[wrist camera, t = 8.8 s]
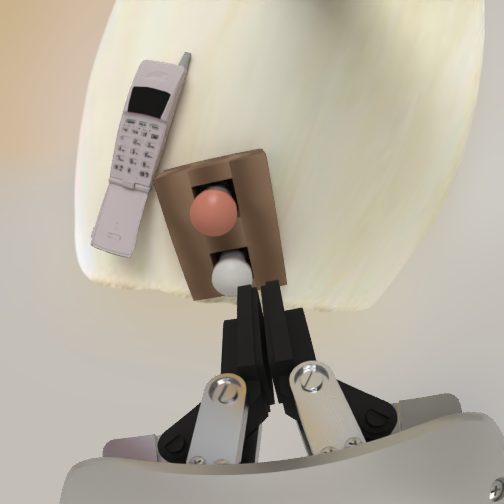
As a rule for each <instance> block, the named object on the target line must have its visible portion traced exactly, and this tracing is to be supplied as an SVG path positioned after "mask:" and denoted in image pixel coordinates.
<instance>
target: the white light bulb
mask: <svg viewBox="0 0 504 504" xmlns="http://www.w3.org/2000/svg"><path fill="white" fill-rule="evenodd" d="M212 284H213V286H214V288H215V289H216V290H217V291H218V292H219V293H221V294H223V295H226V296H237V287H238V286H243V285H249V284H251V285H252V271H251V268H250V266H249V265H248V263H247V262H246V255H245V247H242V248H237V249H231V250H226V251H221V252H220V259H219V262H218V263H217V264H216V265H215V266H214V269H213V273H212Z"/></svg>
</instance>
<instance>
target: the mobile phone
mask: <svg viewBox="0 0 504 504" xmlns="http://www.w3.org/2000/svg"><path fill="white" fill-rule="evenodd" d="M190 57H191V53H188V52H185V53H184V55H183V57H182V59H181V61H180V63H179V65H174V64H169V63H164V62H158V61H153V60H144V61H143V62H142V63H141V64H140V66H139V68H138V70H137V73H136V75H135V78H134V80H133V83H132V86H131V88H130V91H129V94H128V97H127V100H126V103H125V106H124V110H123V114H122V118H121V122H120V126H119V130H118V134H117V139H116V144H115V149H114V154H113V160H112V166H111V172H110V178H109V182H110V183H109V185H108V188H107V191H106V194H105V197H104V200H103V203H102V206H101V209H100V212H99V215H98V218H97V222H96V225H95V227H94V228H93V231H92V235H91V238H92V240H91V246H93V247H95V248H97V249H100V250H103V251H105V252H108V253H111V254H114V255H119V256H123V257H127V258H130V257H131V254H132V251H133V250H134V247H135V244H136V236H137V232H138V228H139V225H140V221H141V217H142V214H143V210H144V207H145V203H146V200H147V197H148V193H149V191H150V190H151V189H152V185H153V180H154V178H155V174H156V172H157V168H158V165H159V162H160V158H161V155H162V152H163V148H164V145H165V142H166V138H167V135H168V132H169V129H170V126H171V122H172V119H173V116H174V112H175V109H176V106H177V102H178V99H179V96H180V93H181V90H182V87H183V83H184V80H185V77H186V74H187V67H188V64H189V60H190ZM166 125H167V126H166ZM164 132H165V133H164Z"/></svg>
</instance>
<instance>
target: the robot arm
mask: <svg viewBox="0 0 504 504" xmlns="http://www.w3.org/2000/svg"><path fill="white" fill-rule="evenodd" d="M265 284H266V285H264V286H261V295H262V305H263V312H262V308H261V303H260V299H259V295H258V290H257V287H253V288H252V286H251V284H249V285H243V286H238V287H237V319H231V320H225V321H224V324H223V341H222V362H221V374H220V375H218V376H215V377H214V378H212V379H211V380H210V381H209V382H208V383H207V385H206V387H205V389H204V393H203V398H202V402H201V403H199V405H197V406H196V407H195V408H194V409H192V410H191V411H190V412H189V413H188V414H186V415H185V416H184V417H183V418H181V419H180V420H179V421H178V422H176V423H175V424H174V425H173V426H172V427H170V428H169V429H168V430H166V431H165V432H164V433H163V434H162V435H159V436H156V435H155V434H153V435H146V436H139V437H131V438H123V439H114V440H111V441H109V442H108V443H107V444H106V445H105V447H104V449H103V457H100V458H92V459H88V460H85V461H82V462H79V463H77V464H76V465H74V466H73V467H72V468H71V469H70V471H69V473H68V474H67V477H66V480H65V482H64V486H63V489H62V493H61V498H60V504H504V436H503V434H502V432H501V430H500V429H499V427H498V426H497V424H496V423H495V422H494V420H493V419H492V418H491V417H489V416H488V415H486V414H483V413H477V412H465V413H464V412H463V413H462V410H461V405H460V403H459V400H458V399H457V398H456V397H455V396H454V395H452V394H448V393H447V394H446V393H445V394H439V395H433V396H428V397H422V398H416V399H409V400H402V401H399V403H393V404H390V403H388V402H386V401H384V400H381V399H379V398H377V397H374V396H372V395H370V394H367V393H365V392H363V391H361V390H358V389H356V388H354V387H352V386H350V385H347V384H345V383H343V382H341V381H339V380H337V379H336V378H335V375H334V373H333V371H332V370H331V368H330V367H329V366H327V365H326V364H325V363H322V362H319V361H316V358H315V354H314V350H313V346H312V342H311V338H310V334H309V330H308V326H307V323H306V318H305V315H304V311H303V308H297V309H292V310H286V311H284V306H283V301H282V296H281V291H280V285H279V280H272V281H266V282H265ZM263 315H264V317H263ZM272 379H273V382H274V386H275V390H276V394H277V398H278V402H279V403H283V406H284V410H285V413H286V414H287V415H288V416H290V417H292V418H293V419H295V420H296V423H297V426H298V429H299V432H300V435H301V438H302V441H303V444H304V447H305V449H306V452H307V455H308V456H307V457H301V458H294V459H288V460H280V461H271V462H262V463H258V457H259V449H260V440H261V431H262V422H263V421H264V420H265V419H266V418H267V417H268V412H270V405H272V404H275V400H274V391H273V382H272Z"/></svg>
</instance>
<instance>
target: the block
mask: <svg viewBox="0 0 504 504" xmlns="http://www.w3.org/2000/svg"><path fill="white" fill-rule="evenodd" d="M230 178H232V179H233V184H234V188H235V193H236V197H237V202H238V203H237V204H236V206H237V219H236V222H235V224H234V226H233V228H232V229H231V230H230V231H229V232H227V233H225V234H223V235H221V236H207V235H204V234H202V233H200V232H199V231H198V230H196V228H195V227H194V226H193V224H192V222H191V220H190V208H191V205H192V203H193V201H194V199H195V198H196V197H197V195H198V194H200V193H201V188H200V185H203V184H207V183H212V182H216V181H221V180H226V179H230ZM153 182H154V185H155V188H156V192H157V195H158V198H159V202H160V205H161V208H162V211H163V215H164V218H165V221H166V224H167V227H168V230H169V233H170V236H171V239H172V242H173V245H174V248H175V251H176V254H177V256H178V259H179V262H180V265H181V268H182V270H183V273H184V276H185V279H186V281H187V284H188V287H189V289H190V292H191V295H192V297H193V300H194V301H195V300H202V299H208V298H214V297H220V296H226V295H223V294H221V293H219V292H218V291H217V290H216V289H215V288H214V286H213V284H212V273H213V269H214V266H215V265H216V264H217V263H218V262H219V255H218V252H221V251H226V250H231V249H237V248H242V247H248V252H249V257H250V259H246V262H247V263H248V265H249V266H250V268H251V271H252V285H251V286H252V288H253V287H257V290H260V289H261V286H264V285H266V284H265V282H266V281H272V280H279V285H280V286H282V285H287V280H286V273H285V267H284V260H283V253H282V247H281V240H280V234H279V228H278V221H277V215H276V209H275V203H274V197H273V191H272V186H271V180H270V174H269V169H268V163H267V157H266V154H265V152H264V151H263V149H256V150H251V151H246V152H241V153H236V154H231V155H226V156H221V157H217V158H212V159H208V160H204V161H199V162H195V163H191V164H187V165H183V166H179V167H176V168H172V169H168V170H165V171H163V172H162V173H161V174H160V175H158V176H157V177H156V178H155V179H154V180H153Z"/></svg>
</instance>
